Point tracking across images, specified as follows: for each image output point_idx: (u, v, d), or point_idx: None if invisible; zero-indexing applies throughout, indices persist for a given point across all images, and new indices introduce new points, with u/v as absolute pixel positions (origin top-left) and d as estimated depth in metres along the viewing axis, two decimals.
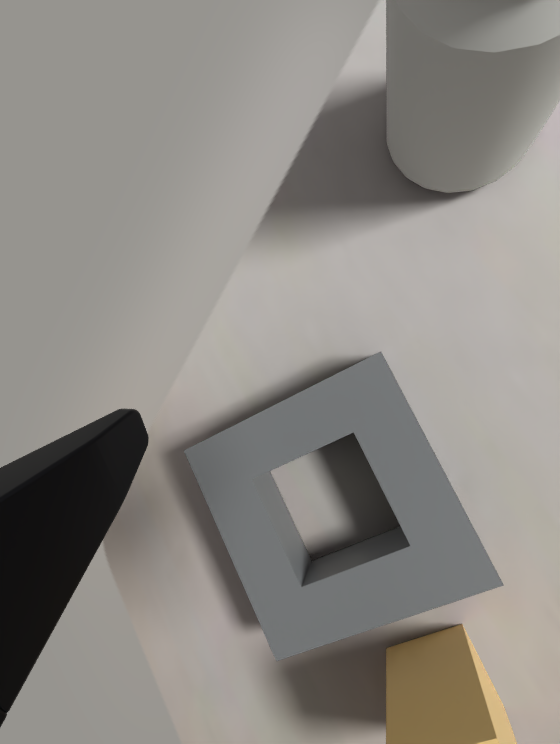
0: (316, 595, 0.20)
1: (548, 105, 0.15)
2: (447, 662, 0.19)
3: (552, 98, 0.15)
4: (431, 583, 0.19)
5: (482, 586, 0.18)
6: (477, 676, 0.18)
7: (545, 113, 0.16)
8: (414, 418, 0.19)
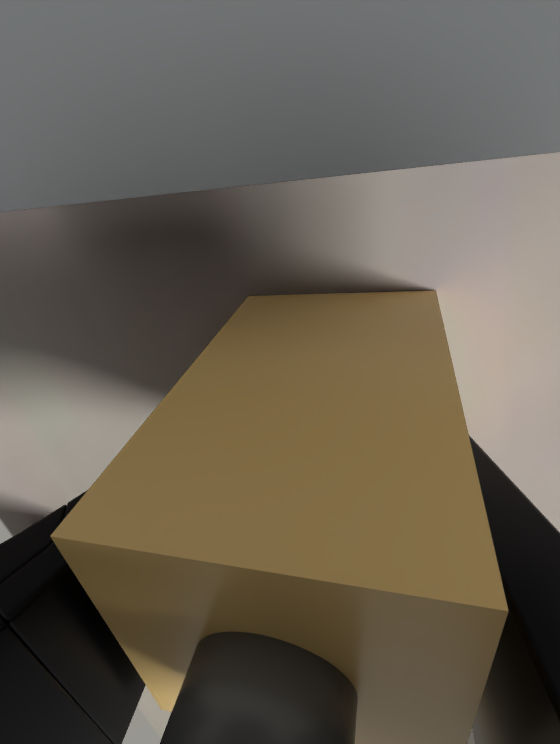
0: (26, 9, 0.05)
1: None
2: (375, 343, 0.07)
3: None
4: (476, 50, 0.04)
5: None
6: (454, 387, 0.06)
7: None
8: None
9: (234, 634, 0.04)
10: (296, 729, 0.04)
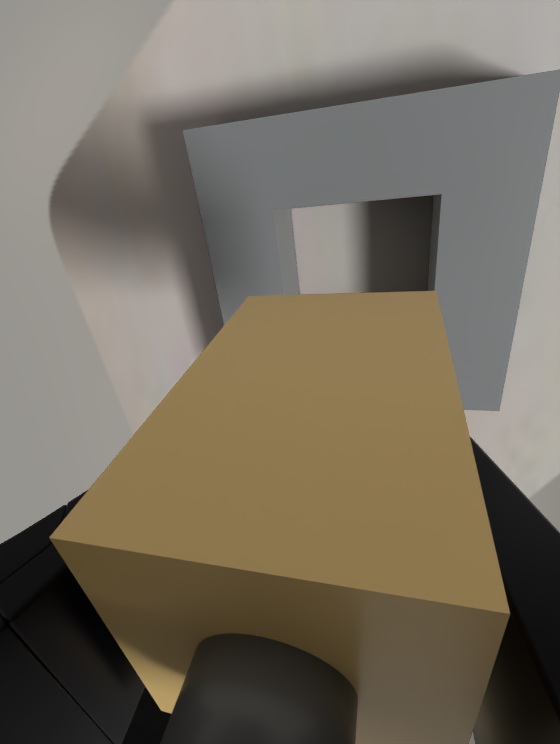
0: None
1: None
2: (376, 343, 0.07)
3: None
4: None
5: (478, 405, 0.17)
6: (455, 388, 0.06)
7: None
8: (535, 205, 0.13)
9: (234, 636, 0.04)
10: (296, 732, 0.04)
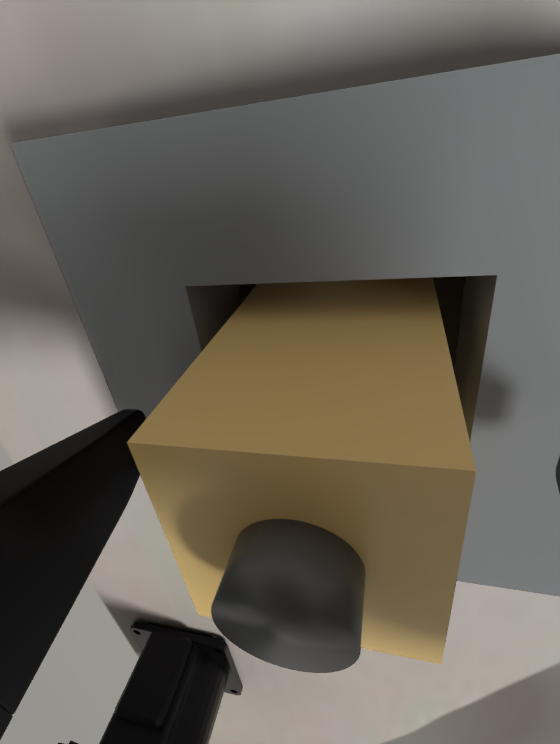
0: None
1: None
2: (378, 309, 0.08)
3: None
4: None
5: (533, 587, 0.11)
6: (444, 339, 0.07)
7: None
8: None
9: (269, 521, 0.06)
10: (320, 576, 0.05)
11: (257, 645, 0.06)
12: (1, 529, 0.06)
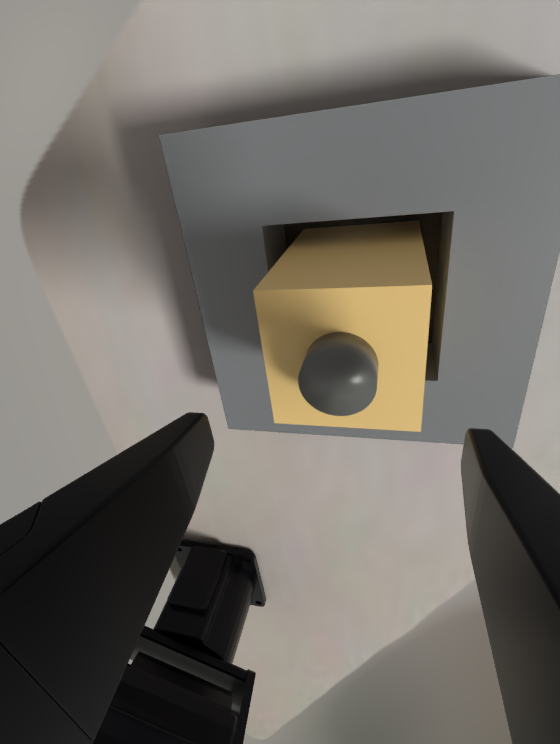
0: None
1: None
2: (383, 239, 0.13)
3: None
4: (436, 421, 0.16)
5: None
6: (423, 248, 0.12)
7: None
8: None
9: (326, 335, 0.11)
10: (357, 348, 0.10)
11: (321, 400, 0.11)
12: (87, 543, 0.06)
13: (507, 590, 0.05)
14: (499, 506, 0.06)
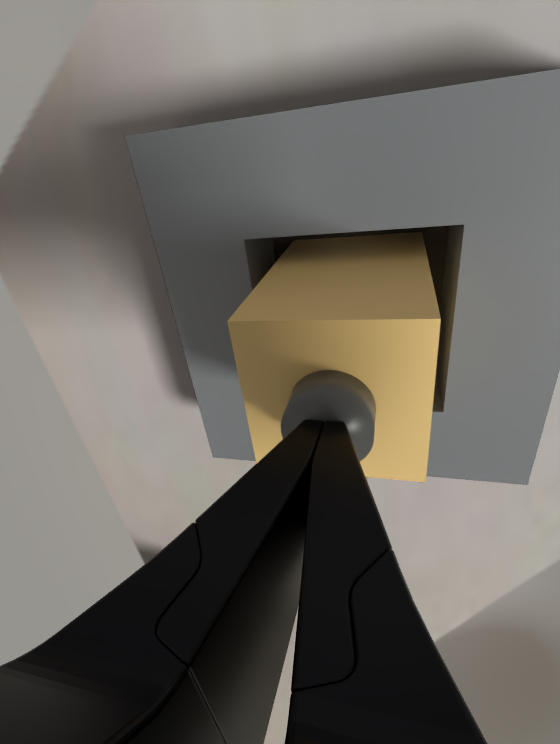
0: None
1: None
2: (382, 255, 0.12)
3: None
4: (441, 455, 0.14)
5: (501, 477, 0.14)
6: (428, 268, 0.10)
7: None
8: None
9: (315, 373, 0.09)
10: (350, 393, 0.08)
11: None
12: (258, 572, 0.05)
13: None
14: None
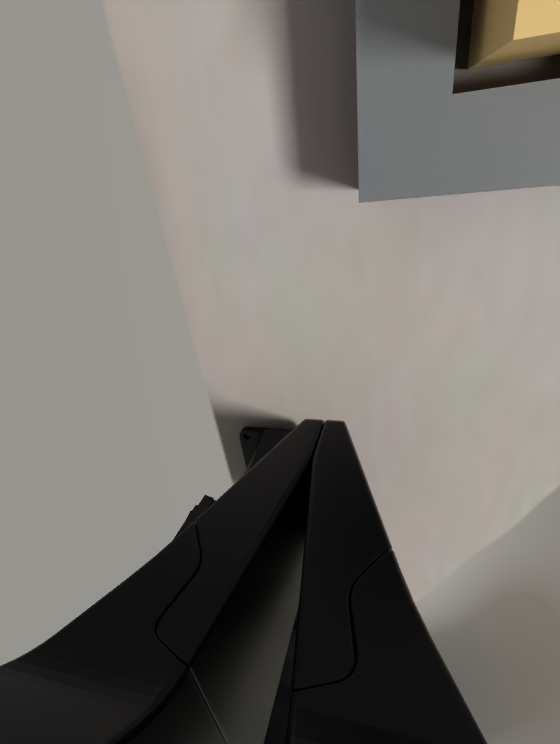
0: (469, 115, 0.13)
1: None
2: None
3: None
4: None
5: None
6: None
7: None
8: None
9: None
10: None
11: None
12: (258, 571, 0.05)
13: None
14: None
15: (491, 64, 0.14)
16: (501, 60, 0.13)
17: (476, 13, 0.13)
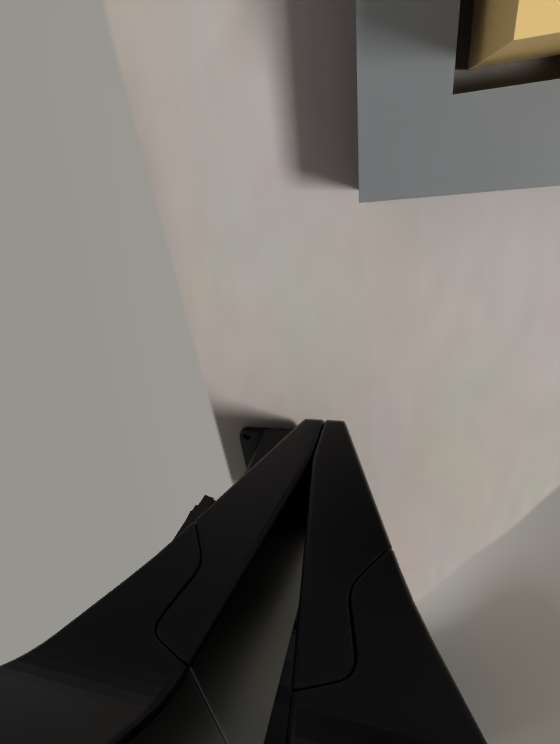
0: (469, 115, 0.13)
1: None
2: None
3: None
4: None
5: None
6: None
7: None
8: None
9: None
10: None
11: None
12: (258, 571, 0.05)
13: None
14: None
15: (491, 64, 0.14)
16: (501, 60, 0.13)
17: (476, 14, 0.13)
